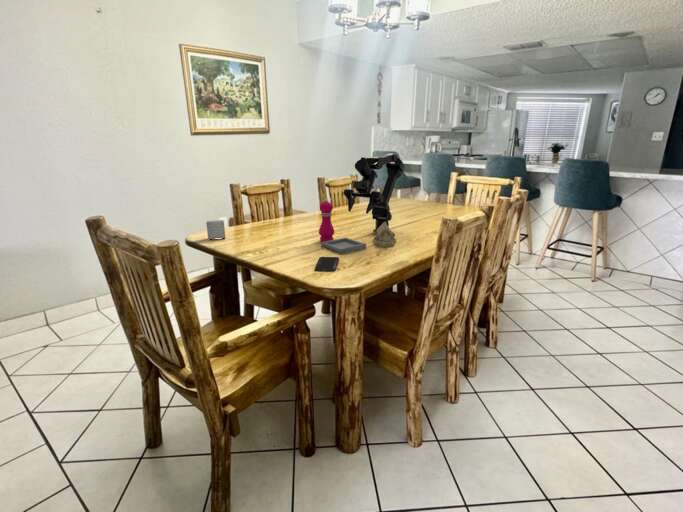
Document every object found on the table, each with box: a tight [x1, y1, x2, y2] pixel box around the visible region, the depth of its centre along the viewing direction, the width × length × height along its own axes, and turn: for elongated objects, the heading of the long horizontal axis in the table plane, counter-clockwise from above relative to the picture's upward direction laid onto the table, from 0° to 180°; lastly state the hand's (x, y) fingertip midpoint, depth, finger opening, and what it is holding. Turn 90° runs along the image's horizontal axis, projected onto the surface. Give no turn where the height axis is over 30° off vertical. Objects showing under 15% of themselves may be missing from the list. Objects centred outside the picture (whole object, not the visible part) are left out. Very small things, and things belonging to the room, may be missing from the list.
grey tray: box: [320, 237, 367, 255], centre depth 158 cm, size 14×14×2 cm
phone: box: [314, 256, 340, 273], centre depth 137 cm, size 8×1×15 cm
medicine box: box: [205, 219, 226, 240], centre depth 173 cm, size 8×4×9 cm, turn 108°
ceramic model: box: [372, 222, 397, 248], centre depth 165 cm, size 14×11×10 cm
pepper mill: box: [318, 197, 335, 243], centre depth 167 cm, size 7×7×20 cm
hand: (357, 212), depth 164 cm, fingers open, 9 cm apart
